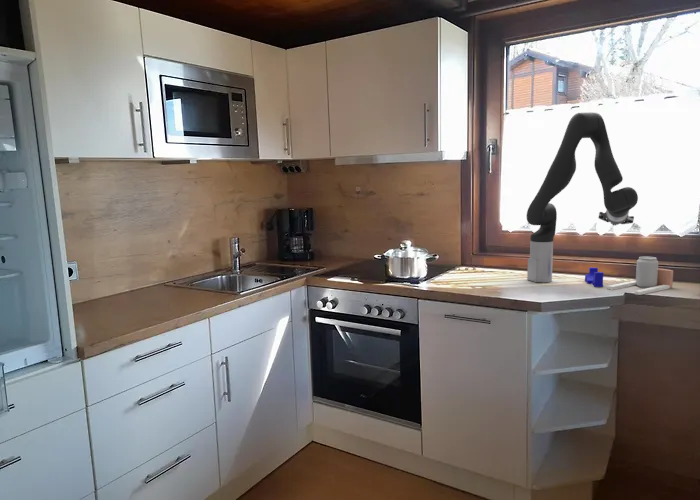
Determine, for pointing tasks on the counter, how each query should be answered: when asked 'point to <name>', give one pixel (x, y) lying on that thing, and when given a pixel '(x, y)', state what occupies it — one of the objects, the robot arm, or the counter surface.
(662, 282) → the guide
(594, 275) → the cable clip
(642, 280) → the can
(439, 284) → the counter surface
